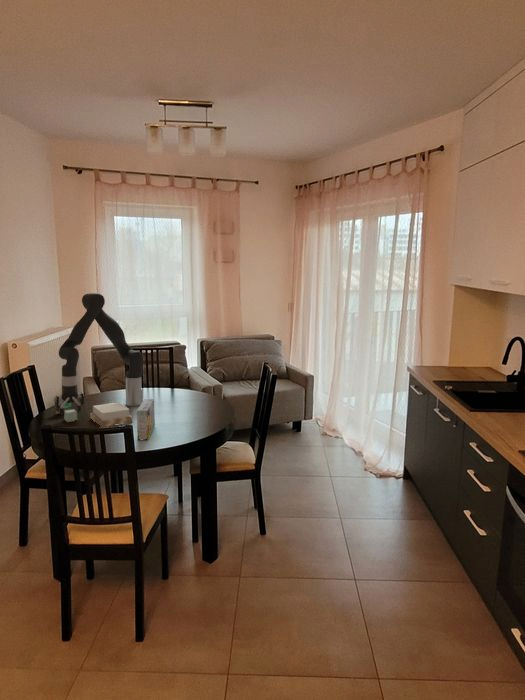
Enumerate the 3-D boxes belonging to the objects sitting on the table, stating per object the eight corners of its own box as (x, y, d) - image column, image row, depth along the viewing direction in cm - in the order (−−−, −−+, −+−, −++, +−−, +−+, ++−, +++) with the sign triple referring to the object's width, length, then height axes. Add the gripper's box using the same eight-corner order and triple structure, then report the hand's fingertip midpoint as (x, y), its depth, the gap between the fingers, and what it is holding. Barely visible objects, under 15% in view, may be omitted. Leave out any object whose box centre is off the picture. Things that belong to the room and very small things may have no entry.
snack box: (144, 426, 235) (144, 398, 233) (155, 426, 236) (155, 398, 234) (136, 440, 215) (136, 410, 212) (148, 440, 215) (148, 410, 213)
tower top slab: (118, 409, 252) (118, 402, 252) (129, 416, 240) (129, 409, 239) (93, 412, 244) (92, 405, 243) (103, 420, 231) (102, 413, 231)
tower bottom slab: (119, 415, 254) (119, 408, 254) (132, 423, 241) (132, 416, 240) (90, 420, 244) (90, 413, 244) (102, 429, 231) (102, 421, 230)
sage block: (74, 418, 245) (73, 409, 244) (77, 420, 241) (76, 411, 240) (64, 419, 242) (64, 410, 241) (67, 422, 238) (67, 413, 237)
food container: (64, 416, 247) (63, 398, 246) (54, 415, 249) (53, 397, 247) (77, 410, 259) (77, 393, 258) (68, 409, 261) (67, 392, 259)
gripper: (80, 381, 246) (81, 409, 248) (53, 384, 237) (53, 413, 239) (85, 383, 240) (85, 413, 242) (57, 386, 231) (58, 417, 233)
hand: (70, 413), depth 241 cm, fingers open, 8 cm apart
